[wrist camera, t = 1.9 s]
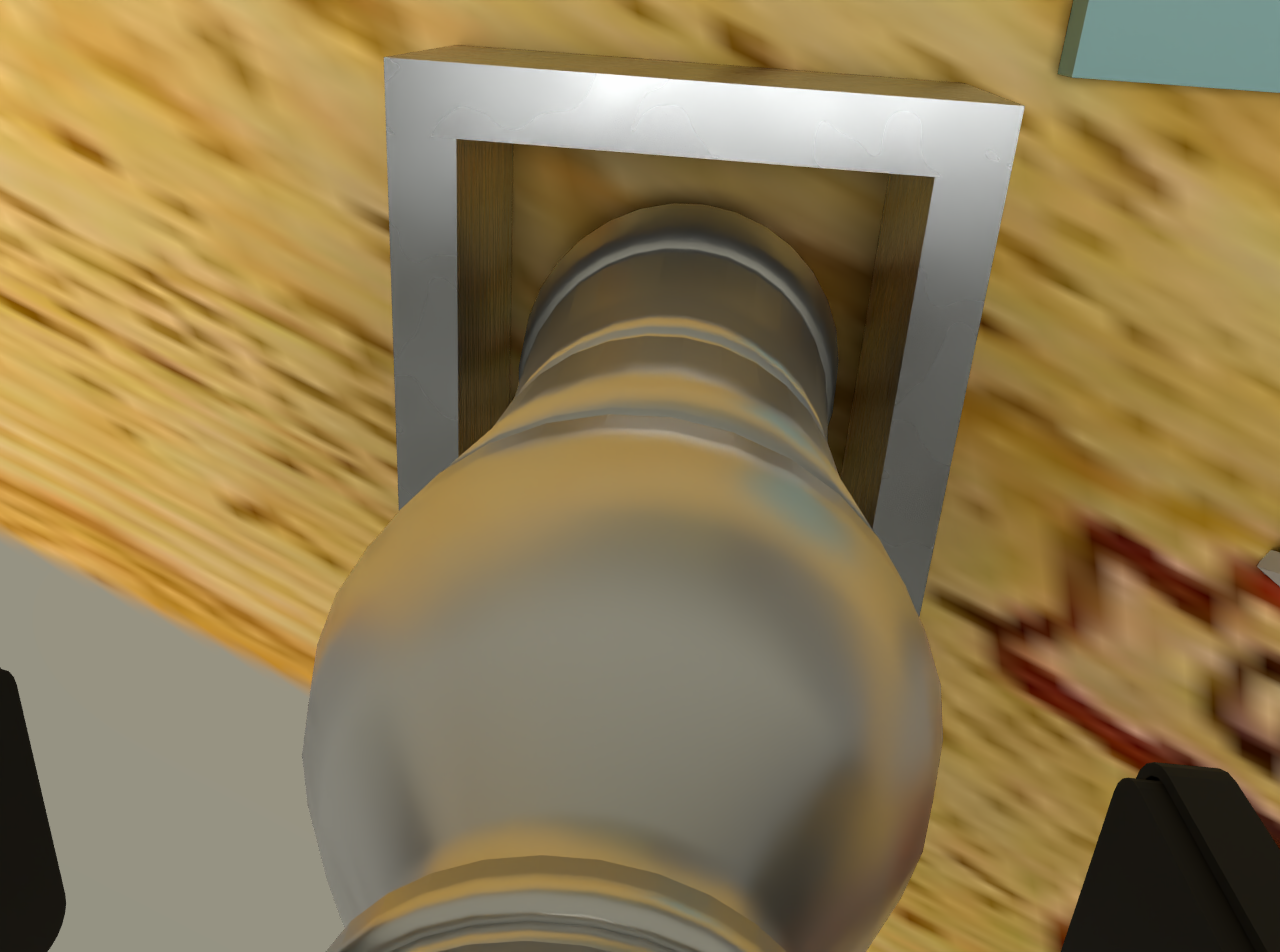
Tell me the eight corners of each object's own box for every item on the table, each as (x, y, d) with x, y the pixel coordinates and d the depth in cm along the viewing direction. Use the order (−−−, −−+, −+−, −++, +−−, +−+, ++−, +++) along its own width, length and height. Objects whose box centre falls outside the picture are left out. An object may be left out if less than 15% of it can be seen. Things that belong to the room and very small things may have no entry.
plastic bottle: (509, 415, 25) (-79, 1486, 7) (595, 136, 22) (-20, 726, 4) (762, 502, 26) (819, 1732, 7) (878, 238, 23) (1421, 1184, 5)
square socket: (874, 572, 26) (903, 693, 22) (460, 531, 27) (403, 640, 22) (964, 83, 21) (1025, 105, 17) (457, 45, 22) (383, 57, 17)
